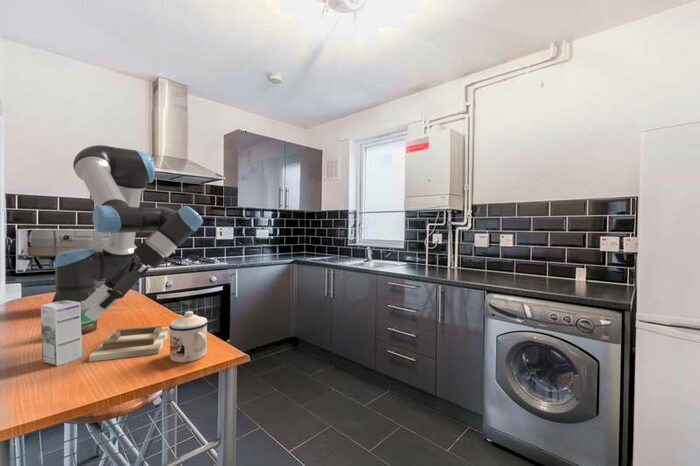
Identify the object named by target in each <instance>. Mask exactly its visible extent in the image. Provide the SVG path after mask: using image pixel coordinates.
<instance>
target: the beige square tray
mask: <svg viewBox="0 0 700 466" xmlns="http://www.w3.org/2000/svg"><path fill="white" fill-rule="evenodd" d="M168 336H170V328H169V326H165V327H164V326H163V327H162V325H157V326H145V327H136V328H134V327H133V328H121V329H116V330H115V331H113V332H111V334H110V335H108V337H107V338H106V339H105V340H103V342H102V343H100V345H98V346H97V348H96V349H95V350H94V351H92V352H91V353H90V354H89V355H88V362H97V361H106V360H107V361H108V360H115V359H124V358H133V357H142V356H151V355H158V354H159V353H160V352H161V349H162V348H163V346H164V344H165V342H166V340H167V338H168Z"/></svg>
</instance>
